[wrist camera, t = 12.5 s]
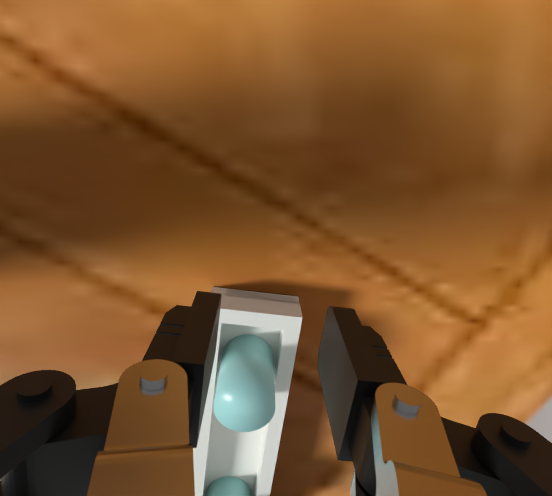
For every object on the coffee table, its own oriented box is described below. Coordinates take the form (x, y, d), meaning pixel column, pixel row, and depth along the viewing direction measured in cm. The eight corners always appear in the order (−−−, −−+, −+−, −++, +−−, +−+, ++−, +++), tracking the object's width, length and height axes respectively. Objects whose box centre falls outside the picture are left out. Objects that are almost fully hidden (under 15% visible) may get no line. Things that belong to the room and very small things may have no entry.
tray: (212, 286, 27) (198, 334, 21) (298, 296, 27) (308, 346, 21) (190, 516, 34) (175, 600, 28) (258, 520, 34) (258, 604, 28)
